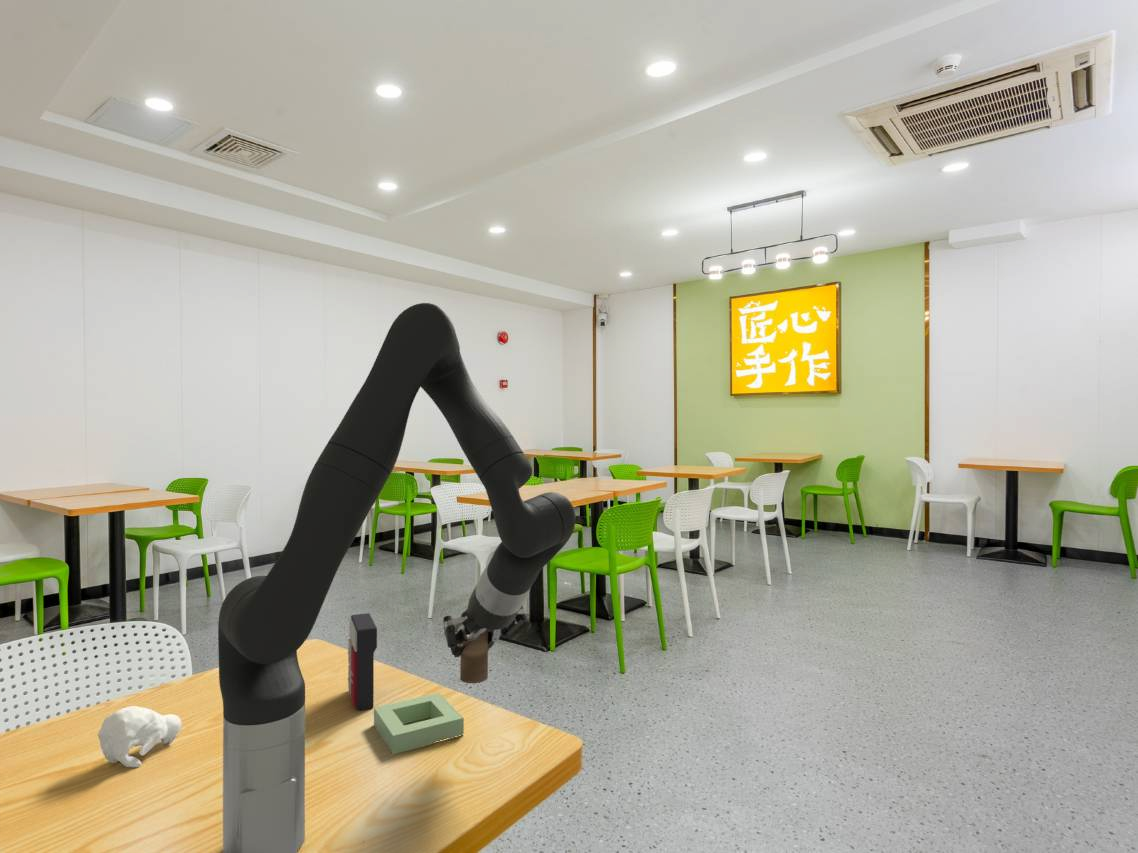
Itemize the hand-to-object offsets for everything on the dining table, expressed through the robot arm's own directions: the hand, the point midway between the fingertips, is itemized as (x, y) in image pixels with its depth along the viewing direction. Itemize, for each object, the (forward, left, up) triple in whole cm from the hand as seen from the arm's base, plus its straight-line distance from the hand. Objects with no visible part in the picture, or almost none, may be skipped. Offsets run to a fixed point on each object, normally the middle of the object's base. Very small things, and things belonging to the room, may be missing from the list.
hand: (469, 649), depth 104 cm
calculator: (+28, +11, -16) cm, 34 cm away
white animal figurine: (+25, +46, -16) cm, 54 cm away
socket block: (+10, +6, -16) cm, 19 cm away
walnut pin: (-2, 0, -4) cm, 5 cm away
